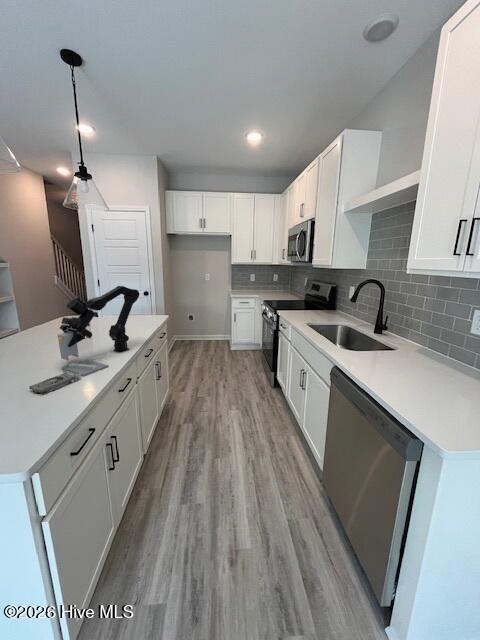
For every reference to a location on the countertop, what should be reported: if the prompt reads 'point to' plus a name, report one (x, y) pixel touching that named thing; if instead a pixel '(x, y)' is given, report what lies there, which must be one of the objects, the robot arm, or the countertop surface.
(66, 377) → the graphics card
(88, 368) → the grey mounting plate
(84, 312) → the robot arm
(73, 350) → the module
